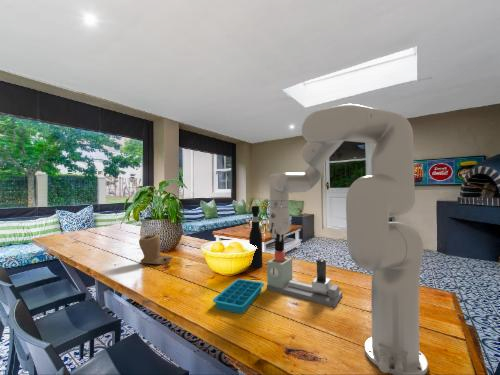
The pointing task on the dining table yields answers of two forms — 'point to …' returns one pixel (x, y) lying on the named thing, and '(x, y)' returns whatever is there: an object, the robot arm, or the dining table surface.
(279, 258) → the button
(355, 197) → the robot arm
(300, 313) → the dining table surface
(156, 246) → the brown boot
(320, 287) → the carriage
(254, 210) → the wine bottle
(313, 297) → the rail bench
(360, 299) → the dining table surface
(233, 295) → the ice cube tray
